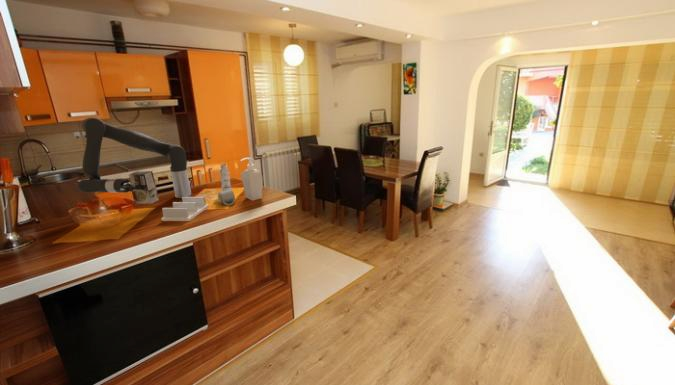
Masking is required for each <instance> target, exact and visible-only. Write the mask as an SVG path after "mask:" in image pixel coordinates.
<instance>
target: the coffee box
mask: <svg viewBox="0 0 675 385" xmlns="http://www.w3.org/2000/svg"><path fill="white" fill-rule="evenodd" d="M128 177H129V178H128V179H129V180H130V182H131V184H132V185H143V186H144V189H143V190H133V191H132V192H133V197H134V200H135V203H136V204H137V205H138V204H141V205H142V204H153V203H155V202H157V201H159V200H160V199H159V194H158V190H157V185H156V181H155V178H154V177H155V176H154V172H153V170H152V171H151V170H147V171H146V170H144V171H143V170H140V171H138V170H137V171H134V172H132V173H130V174H128Z"/></svg>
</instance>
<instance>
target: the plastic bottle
mask: <svg viewBox="0 0 675 385" xmlns="http://www.w3.org/2000/svg"><path fill="white" fill-rule="evenodd" d="M227 167H228V165H227V164H226V163H222V164H220V170H219V172H218V173H219V177H220V180H221V192H223V191H227V190H230V189H231V190H232V191H233V189H232V184H231V179H230V178H231V176H230V174H231V172H230V170H229V169H228V168H227Z"/></svg>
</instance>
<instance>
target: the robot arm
mask: <svg viewBox="0 0 675 385" xmlns="http://www.w3.org/2000/svg"><path fill="white" fill-rule="evenodd" d="M81 129H82V130H83V131H84V133H85V138H86V139H85V149H84V154H83V156H82V167H81V168H82V169H81V172H82V173H83V174H84V175H87V176H88V178H84V179H81V180H79V181H78V182H77V184H76V188H77V190H78V191H79V192H82V193H85V194H86V193H113V194H114V193H115V194H117V193H118V194H119V193H121V194H123V193H125V194H126V193H129V192H130V193H131V192H133V190H143V189H144V186H143V185H132V184H131V182H130V178H102V179H101V174H100V165H101V163H100V162H101V150H102V149H101V148H102V143H103V139H104V138H106V139H108V140H112V141H115V142H118V143H120V144H123V145H125V146H128V147H131V148H134V149H138V150H140V151H145V152H151V153H156V154H159V155H162V156H164V157H167V158H168V159H170V167H169V169H170V174H171V180H172V185H173V191H174V195H175V196H174V197H175V198H176V199H182V197H191V195H192V190H191V184H190V180H189V174H188V170H187V166H188V163H187V155H186V150H185V149H184V147H182V146H181V145H178V144H172V143H166V142H162V141H159V140H158V139H156V138H154V137H151V136H149V135H147V134H144V133H141V132H138V131H135V130H131V129H127V128H122V127H118V126H115V125H111V124H108V123H106V122H104V121H103V120H101V119H100V118H97V117H87V118H84V119H83V121H82V122H81Z"/></svg>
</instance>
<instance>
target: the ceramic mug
mask: <svg viewBox="0 0 675 385" xmlns="http://www.w3.org/2000/svg"><path fill="white" fill-rule="evenodd" d="M217 198H218V201H219V203H220V204H221V205H225V206H229V207H230V206H233V205H234V204H235V202H236V197H235V193H234V191H233V189H232V190H231V189H230V190H227V191H223V192H222V191H220V192H219V193H217Z"/></svg>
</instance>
